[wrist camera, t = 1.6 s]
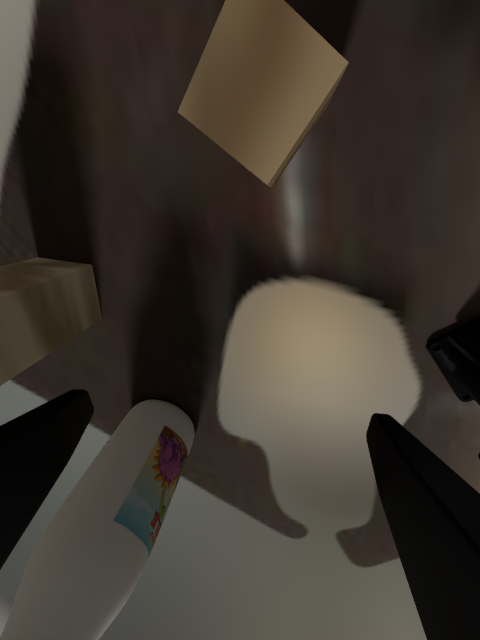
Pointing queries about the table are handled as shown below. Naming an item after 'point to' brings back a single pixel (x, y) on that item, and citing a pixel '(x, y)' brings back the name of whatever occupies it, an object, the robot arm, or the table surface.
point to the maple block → (42, 309)
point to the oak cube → (262, 84)
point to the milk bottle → (103, 530)
